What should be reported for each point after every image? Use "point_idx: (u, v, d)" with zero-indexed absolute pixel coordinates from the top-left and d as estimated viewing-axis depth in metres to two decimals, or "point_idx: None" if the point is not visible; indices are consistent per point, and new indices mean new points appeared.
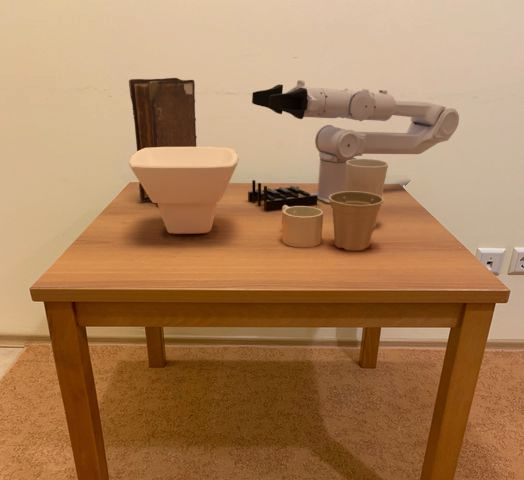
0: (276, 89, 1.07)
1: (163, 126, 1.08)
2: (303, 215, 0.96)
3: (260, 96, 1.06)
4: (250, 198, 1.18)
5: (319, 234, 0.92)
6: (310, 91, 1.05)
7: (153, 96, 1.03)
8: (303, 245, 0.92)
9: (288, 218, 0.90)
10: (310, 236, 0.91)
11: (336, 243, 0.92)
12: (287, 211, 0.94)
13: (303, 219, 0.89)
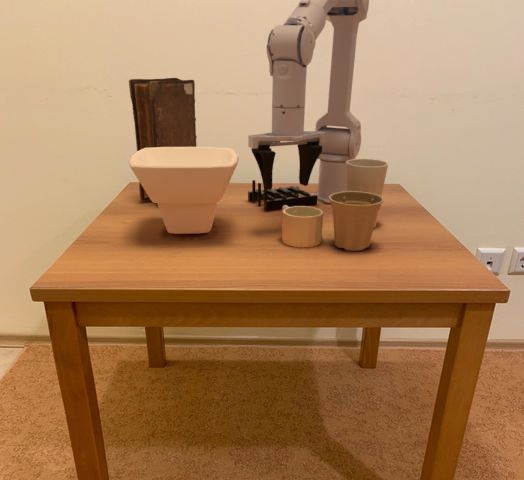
0: None
1: (163, 126, 1.08)
2: (303, 215, 0.96)
3: None
4: (250, 198, 1.18)
5: (319, 234, 0.92)
6: (302, 128, 0.89)
7: (153, 96, 1.03)
8: (303, 245, 0.92)
9: (288, 218, 0.90)
10: (310, 236, 0.91)
11: (336, 243, 0.92)
12: (287, 211, 0.94)
13: (303, 219, 0.89)
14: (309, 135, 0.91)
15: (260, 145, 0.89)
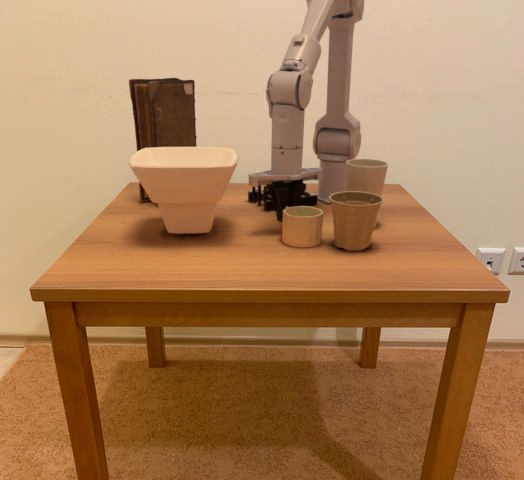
0: None
1: (163, 126, 1.08)
2: (303, 215, 0.96)
3: None
4: (250, 198, 1.18)
5: (319, 234, 0.92)
6: (301, 167, 0.93)
7: (153, 96, 1.03)
8: (303, 245, 0.92)
9: (288, 218, 0.90)
10: (310, 236, 0.91)
11: (336, 243, 0.92)
12: (287, 211, 0.94)
13: (303, 219, 0.89)
14: (307, 173, 0.94)
15: (274, 182, 0.94)
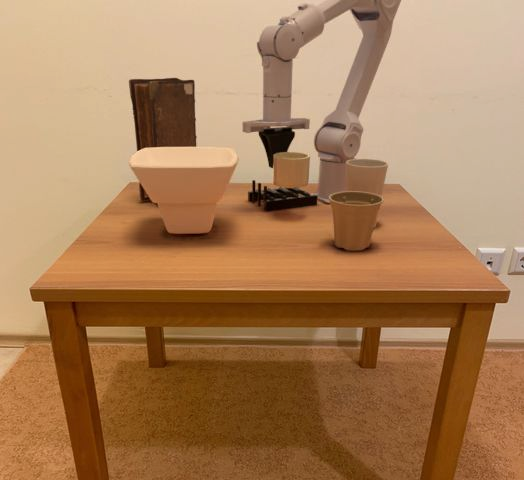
0: None
1: (163, 126, 1.08)
2: None
3: None
4: (250, 198, 1.18)
5: (306, 176, 1.02)
6: (290, 115, 1.03)
7: (153, 96, 1.03)
8: (291, 186, 1.01)
9: (278, 161, 1.00)
10: (298, 177, 1.01)
11: (336, 243, 0.92)
12: (277, 156, 1.03)
13: (291, 161, 0.99)
14: (295, 121, 1.04)
15: (266, 129, 1.03)
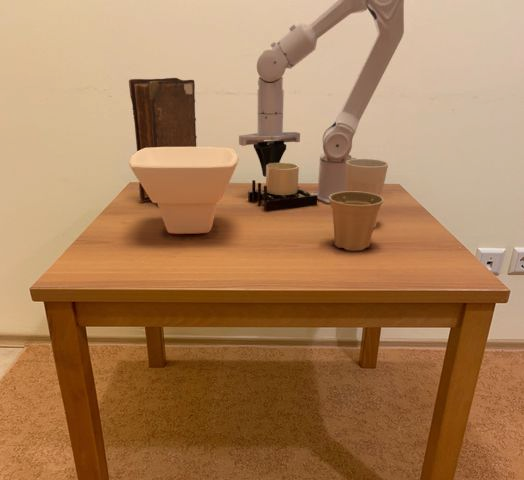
0: None
1: (163, 126, 1.08)
2: None
3: None
4: (250, 198, 1.18)
5: (295, 184, 1.13)
6: (281, 129, 1.14)
7: (153, 96, 1.03)
8: (282, 193, 1.13)
9: (270, 171, 1.11)
10: (288, 185, 1.12)
11: (336, 243, 0.92)
12: (270, 166, 1.15)
13: (281, 171, 1.10)
14: (287, 135, 1.15)
15: (260, 142, 1.15)
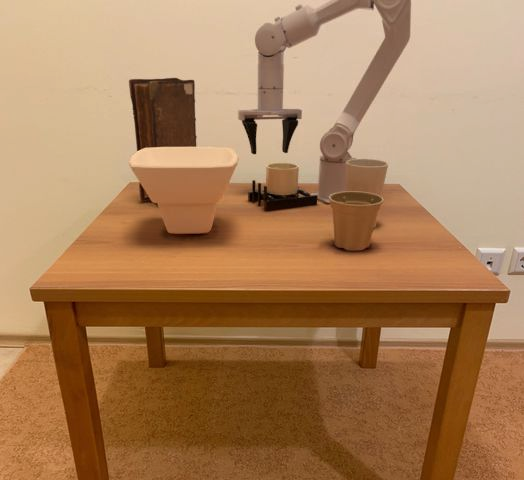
0: None
1: (163, 126, 1.08)
2: None
3: None
4: (250, 198, 1.18)
5: (295, 184, 1.13)
6: (280, 105, 1.14)
7: (153, 96, 1.03)
8: (282, 193, 1.13)
9: (270, 171, 1.12)
10: (288, 185, 1.12)
11: (336, 243, 0.92)
12: (270, 166, 1.15)
13: (281, 171, 1.10)
14: (286, 111, 1.15)
15: (246, 118, 1.14)
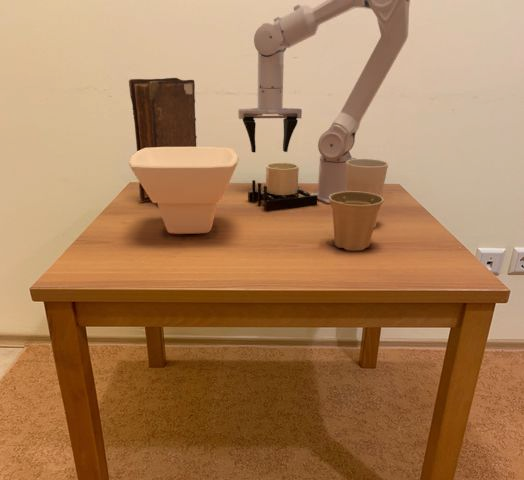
0: None
1: (163, 126, 1.08)
2: None
3: (254, 144, 1.20)
4: (250, 198, 1.18)
5: (295, 184, 1.13)
6: (279, 104, 1.15)
7: (153, 96, 1.03)
8: (282, 193, 1.13)
9: (270, 171, 1.12)
10: (288, 185, 1.12)
11: (336, 243, 0.92)
12: (270, 166, 1.15)
13: (281, 171, 1.10)
14: (286, 110, 1.16)
15: (246, 116, 1.17)
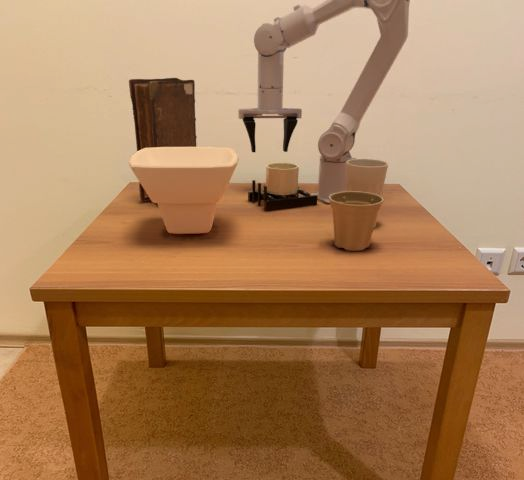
0: None
1: (163, 126, 1.08)
2: None
3: (254, 144, 1.20)
4: (250, 198, 1.18)
5: (295, 184, 1.13)
6: (279, 104, 1.15)
7: (153, 96, 1.03)
8: (282, 193, 1.13)
9: (270, 171, 1.12)
10: (288, 185, 1.12)
11: (336, 243, 0.92)
12: (270, 166, 1.15)
13: (281, 171, 1.10)
14: (286, 110, 1.16)
15: (246, 116, 1.17)
